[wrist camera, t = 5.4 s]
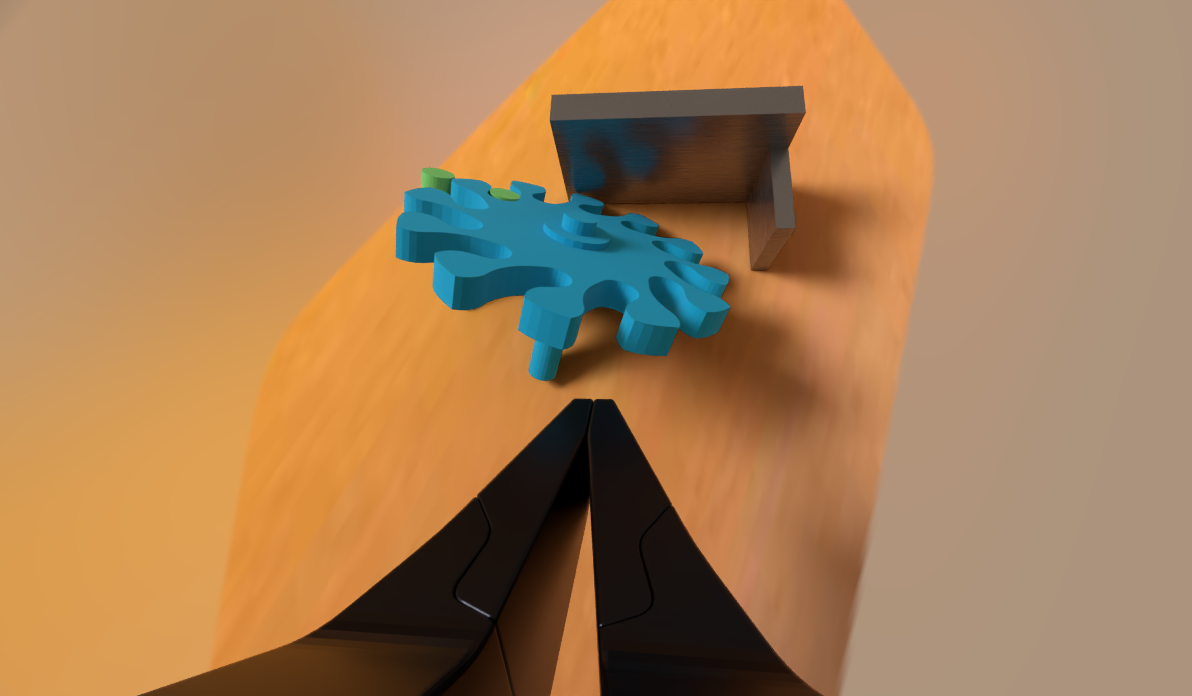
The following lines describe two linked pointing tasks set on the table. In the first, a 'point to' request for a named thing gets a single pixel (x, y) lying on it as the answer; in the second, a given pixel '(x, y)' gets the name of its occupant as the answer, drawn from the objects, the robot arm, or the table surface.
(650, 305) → the gear
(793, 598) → the table surface
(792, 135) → the bay frame
